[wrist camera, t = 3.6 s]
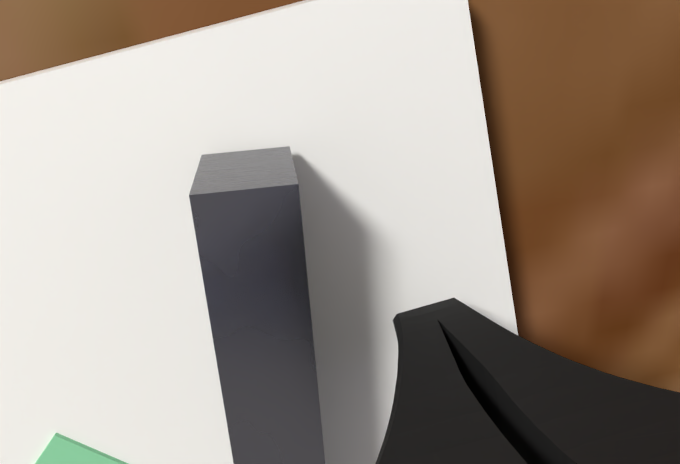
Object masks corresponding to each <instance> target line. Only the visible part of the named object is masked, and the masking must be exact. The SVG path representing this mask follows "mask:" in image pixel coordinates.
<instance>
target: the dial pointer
mask: <svg viewBox="0 0 680 464" xmlns="http://www.w3.org/2000/svg"><path fill="white" fill-rule="evenodd" d="M189 199H190V205H191V211H192V217H193V223H194V229H195V235H196V241H197V247H198V253H199V259H200V265H201V271H202V277H203V283H204V289H205V295H206V301H207V307H208V313H209V319H210V325H211V331H212V337H213V343H214V349H215V355H216V361H217V367H218V373H219V379H220V385H221V391H222V397H223V403H224V409H225V415H226V421H227V427H228V433H229V439H230V445H231V451H232V457H233V463H234V464H325V456H324V445H323V435H322V424H321V414H320V403H319V393H318V382H317V372H316V361H315V351H314V340H313V330H312V319H311V309H310V298H309V288H308V277H307V267H306V256H305V246H304V236H303V225H302V215H301V204H300V194H299V184H298V179H297V175H296V171H295V167H294V163H293V159H292V154H291V150H290V146H287V147H277V148H266V149H256V150H246V151H235V152H225V153H214V154H204V155H201V158H200V162H199V165H198V168H197V171H196V174H195V177H194V181H193V184H192V187H191V190H190V193H189Z"/></svg>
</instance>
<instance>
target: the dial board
mask: <svg viewBox="0 0 680 464" xmlns="http://www.w3.org/2000/svg"><path fill="white" fill-rule="evenodd" d="M287 146H290V150H291V154H292V159H293V163H294V167H295V171H296V175H297V179H298V184H299V194H300V204H301V215H302V225H303V236H304V246H305V256H306V267H307V277H308V288H309V298H310V309H311V319H312V330H313V340H314V351H315V361H316V372H317V382H318V393H319V403H320V414H321V424H322V435H323V445H324V456H325V464H375V463H376V461H377V458H378V455H379V452H380V449H381V446H382V443H383V440H384V437H385V434H386V430H387V427H388V423H389V419H390V415H391V410H392V405H393V400H394V393H395V386H396V379H397V369H398V340H397V336H396V332H395V328H394V324H393V319H394V317H395V316H396V314H398V313H401V312H405V311H408V310H412V309H415V308H419V307H422V306H426V305H430V304H433V303H437V302H440V301H444V300H447V299H451V298H456V299H457V300H459V301H461V302H462V303H464V304H466V305H467V306H469V307H470V308H472V309H474V310H475V311H477V312H479V313H480V314H482V315H483V316H485V317H487V318H488V319H490V320H492V321H493V322H495V323H497V324H498V325H500V326H502V327H504V328H505V329H507V330H509V331H511V332H513V333H514V334H516V335H518V331H517V324H516V317H515V311H514V304H513V297H512V291H511V284H510V278H509V271H508V264H507V258H506V251H505V244H504V238H503V231H502V225H501V218H500V211H499V205H498V198H497V191H496V185H495V178H494V172H493V165H492V158H491V152H490V145H489V138H488V132H487V125H486V119H485V112H484V105H483V99H482V92H481V85H480V79H479V72H478V66H477V59H476V52H475V46H474V39H473V32H472V26H471V19H470V13H469V6H468V0H304V1H300V2H297V3H293V4H289V5H285V6H282V7H278V8H274V9H270V10H267V11H263V12H259V13H255V14H252V15H248V16H244V17H240V18H237V19H233V20H229V21H225V22H222V23H218V24H214V25H210V26H207V27H203V28H199V29H195V30H192V31H188V32H184V33H180V34H177V35H173V36H169V37H165V38H161V39H158V40H154V41H150V42H146V43H143V44H139V45H135V46H131V47H128V48H124V49H120V50H116V51H113V52H109V53H105V54H101V55H98V56H94V57H90V58H86V59H83V60H79V61H75V62H71V63H68V64H64V65H60V66H56V67H53V68H49V69H45V70H41V71H38V72H34V73H30V74H26V75H23V76H19V77H15V78H11V79H8V80H4V81H0V464H234V463H233V457H232V451H231V445H230V439H229V433H228V427H227V421H226V415H225V409H224V403H223V397H222V391H221V385H220V379H219V373H218V367H217V361H216V355H215V349H214V343H213V337H212V331H211V325H210V319H209V313H208V307H207V301H206V295H205V289H204V283H203V277H202V271H201V265H200V259H199V253H198V247H197V241H196V235H195V229H194V223H193V217H192V211H191V205H190V199H189V193H190V190H191V187H192V184H193V181H194V177H195V174H196V171H197V168H198V165H199V162H200V158H201V155H204V154H214V153H225V152H235V151H246V150H256V149H266V148H277V147H287Z"/></svg>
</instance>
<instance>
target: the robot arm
mask: <svg viewBox="0 0 680 464" xmlns="http://www.w3.org/2000/svg"><path fill="white" fill-rule="evenodd" d="M393 324H394V328H395V332H396V336H397V340H398V369H397V379H396V386H395V393H394V400H393V405H392V410H391V415H390V419H389V423H388V427H387V430H386V434H385V437H384V440H383V443H382V446H381V449H380V452H379V455H378V458H377V461H376V463H375V464H680V393H679V392H674V391H670V390H666V389H661V388H657V387H653V386H649V385H646V384H642V383H638V382H635V381H631V380H627V379H624V378H620V377H617V376H614V375H611V374H607V373H604V372H601V371H599V370H596V369H593V368H590V367H588V366H585V365H582V364H579V363H577V362H574V361H572V360H569V359H567V358H564V357H562V356H559V355H557V354H555V353H553V352H551V351H549V350H546V349H544V348H542V347H540V346H538V345H536V344H533V343H531V342H530V341H528V340H526V339H524V338H522V337H520V336H518V335H516V334H514V333H513V332H511V331H509V330H507V329H505V328H504V327H502V326H500V325H498V324H497V323H495V322H493V321H492V320H490V319H488V318H487V317H485V316H483V315H482V314H480V313H479V312H477V311H475V310H474V309H472V308H470V307H469V306H467V305H466V304H464V303H462V302H461V301H459V300H457V299H456V298H451V299H447V300H444V301H440V302H437V303H433V304H430V305H426V306H422V307H419V308H415V309H412V310H408V311H405V312H401V313H398V314H396V316H395V317H394V319H393Z"/></svg>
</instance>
